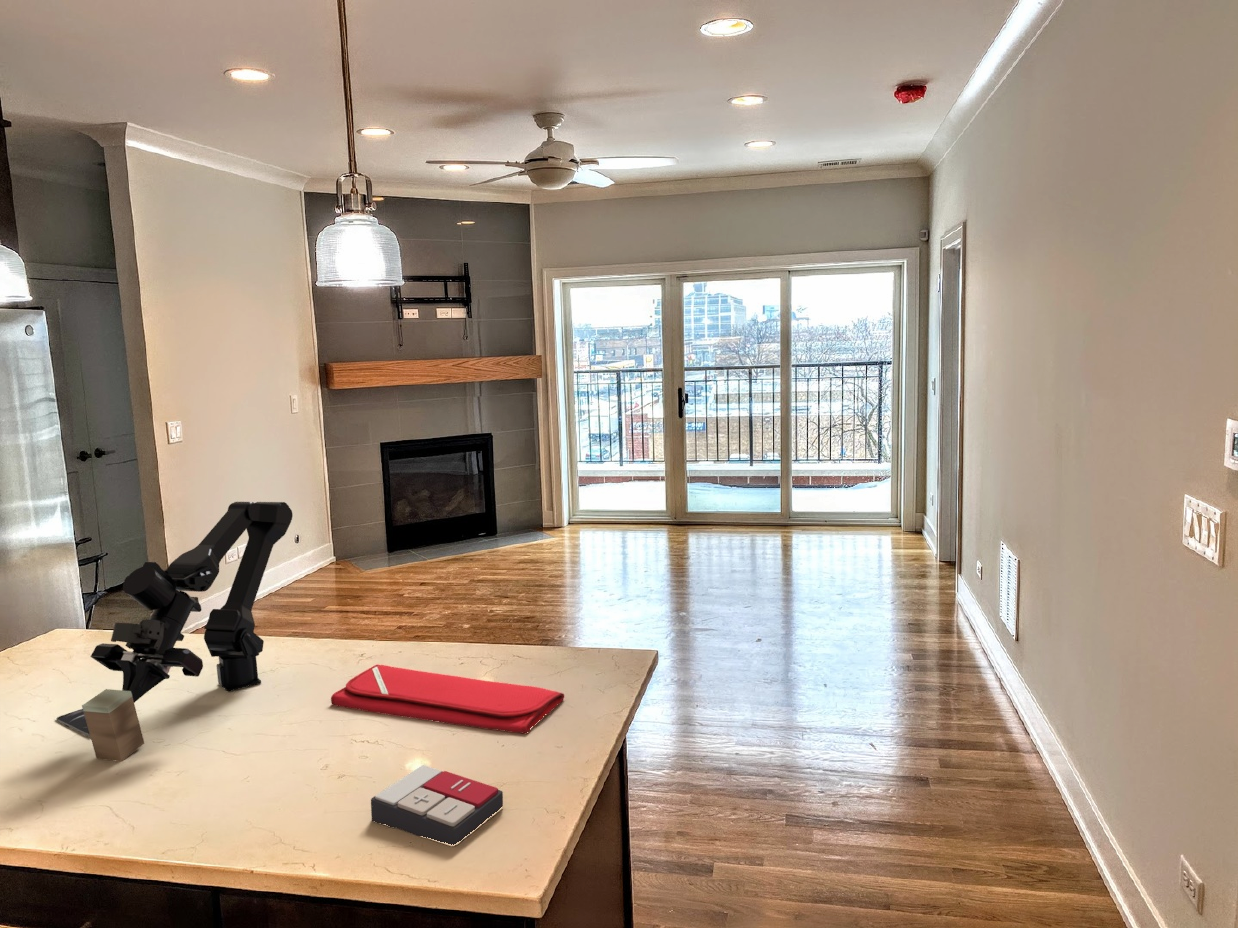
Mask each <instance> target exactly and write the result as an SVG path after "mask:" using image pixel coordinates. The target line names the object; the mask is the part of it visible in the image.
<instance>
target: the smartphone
mask: <svg viewBox="0 0 1238 928" xmlns="http://www.w3.org/2000/svg"><path fill="white" fill-rule="evenodd" d="M56 722H57V723H60V724H61V725H63V726H65V727H67V728H69V729H72V730H73V731H74V732H77V733H79V734H82V735H83V736H85V737H86V738H89V739H91V737H90V733H89V730H88V726H87V722H86V719H85V715H84V712H83V708H81V709H78V710H75V711H72V712H68V713H65V714H62V715H59V716H57V717H56Z"/></svg>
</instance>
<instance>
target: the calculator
mask: <svg viewBox="0 0 1238 928" xmlns="http://www.w3.org/2000/svg"><path fill="white" fill-rule="evenodd" d="M503 793H504V792H503V790H500V789H499V788H498V787H495V786H492V785H489V784H486V783H484V782H481V781H477V780H475V779H472V778H468V777H464V776H462V775H460V774H456V773H453V772H449V771H446V770H444V771H442V770H440V769H438V768H434V767H430V766H428V765H425V764H423V765H420V766H419V767H417V768H416V769H414V770H412V771H411V772H410V773H408V774H406V775H404V777H402V778H401V779H399V780H396V782H394V783H393V784H390V786H388V787H386V788H385V789H383V790H382V791H380V792H378V793H377V794H376V795H374V796H373V797H371V798H370V808H371V809H370V811H371V822H373V821H375V822H377V823H376V824H378V823H381V824H380V825H382V824H386V825H388V826H390V827H389V828H391V827H394V828H393V829H398V830H400V831H403V830H404V832H406V833H409V834H411V835H414V836H416V837H419V836H423V837H426V838H427V837H428V838H431V839H434V840H437V841H440V842H444V843H445V842H446V843H448V844H451V845H452V844H453V845H454V844H456V843H457V842H459V841H461V840H462V839H463V838H464V837H465V836H467V835H468V834H470V832H472V831H473V830H475V829H476V828H477V827H478V826H479V825H480V824H482V823H483V822H484V821H485V820H486V819H487V818H489V817H490V816H492V814H494V813H495V812H497V811H498V810H499V809H500V808H501V807H502V806H503V807H504V794H503ZM375 822H374V823H375ZM388 826H387V827H388Z"/></svg>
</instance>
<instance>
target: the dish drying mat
mask: <svg viewBox="0 0 1238 928" xmlns="http://www.w3.org/2000/svg"><path fill="white" fill-rule="evenodd" d="M564 699H565V694H564V693H563V692H559V691H556V690H550V689H548V688H547V689H546V688H543V687H538V686H531V685H524V684H523V685H521V684H515V683H509V682H508V683H507V682H499V681H498V682H497V681H493V680H485V679H484V680H482V679H477V678H470V677H464V676H458V675H449V674H443V673H435V672H428V671H421V670H414V669H409V668H402V667H395V666H390V665H386V664H385V665H384V664H375V665H373V666H371V667H370V668H368V669H365V670H363V671H362V672H361V673H359V674H357V675H356V676H354V677H352V678H351V679H349V680H348V681H347V683H346V684H345V687H343V688H341V689H339V690H337V691H336V692H334V693H333V694H332V695H331V697H330V703H331V705H332V706H336V707H340V708H348V709H353V710H359V711H363V712H371V713H377V714H383V715H388V714H389V715H390V716H397V717H401V716H403V718H409V717H410V718H409V719H416V718H417V720H422V719H423V721H429V720H433V721H432V722H435V721H439V722H438V723H442V722H444V723H443V724H448V723H450V724H451V725H455V724H457V725H458V726H463V725H465V726H464V727H471V726H474V727H473V728H477V727H480V729H484V728H488V729H487V730H492V729H498V730H497V731H500V730H505V731H504V732H508V731H512V732H511V733H515V732H523V733H522V734H524V733H527V732H529V730H530V728H531V727H532V726H534V725H535V724H536V723H537V722H538V721H539V720H541V719H542V718H543V716H545V714H547V715H548V714H550V711H551V710H552V709H553V708H554V709H556V708H557V706H558V705H557V704H559V703H560V702H561V703H562V702H563V701H564ZM561 703H560V704H561ZM560 704H559V705H560ZM554 709H553V710H554ZM553 710H552V711H553ZM552 711H551V712H552ZM389 715H388V716H389ZM545 717H546V716H545ZM543 719H544V718H543ZM543 719H542V720H543ZM542 720H541V721H542ZM537 724H538V723H537ZM537 724H536V725H537ZM457 725H456V726H457ZM536 725H535V726H536ZM535 726H534V727H535ZM530 731H531V730H530ZM529 733H530V732H529ZM527 734H528V733H527Z"/></svg>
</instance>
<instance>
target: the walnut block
mask: <svg viewBox="0 0 1238 928" xmlns="http://www.w3.org/2000/svg"><path fill="white" fill-rule="evenodd" d="M81 707H82V708H81V709H83V712H84V715H85V719H86V722H87V726H88V730H89V733H90V737H91V738H90V740H91V744H92V747H93V751H94V753H95V758H96V760H103V759H106V760H105V761H113V760H116V762H124V760H126V759H127V758H128V757H129V756H131V755H132V754H133V753H134V752H136V751H137V750H139V748H141V747H142V746H143V745H144V744H145V739H144V737H143V732H142V729H141V725H140V724H141V723H140V721H139V717H138V713H137V709H136V705H135V703H134V701H133V697H132V693H131V691H123V690H122V689H112V688H111V689H109V688H105V689H104V690H103V691H101V692H99V693H98V694H97V695H95V696H94V697H93V698H91V699H90V700H88V701H87V702H85V703H84V704H82V705H81Z"/></svg>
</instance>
